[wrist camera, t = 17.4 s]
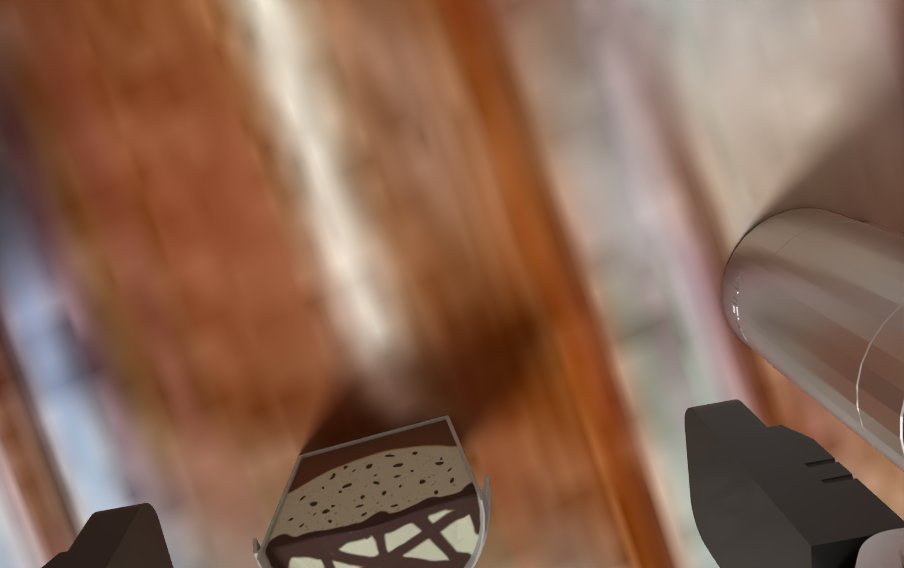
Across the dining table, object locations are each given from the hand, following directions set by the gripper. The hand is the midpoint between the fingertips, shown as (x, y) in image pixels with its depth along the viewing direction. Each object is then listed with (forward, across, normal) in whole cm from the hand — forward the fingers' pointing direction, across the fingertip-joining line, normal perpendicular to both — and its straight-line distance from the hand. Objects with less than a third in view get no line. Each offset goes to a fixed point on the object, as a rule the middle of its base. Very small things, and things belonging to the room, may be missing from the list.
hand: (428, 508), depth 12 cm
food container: (+33, +4, +18) cm, 38 cm away
